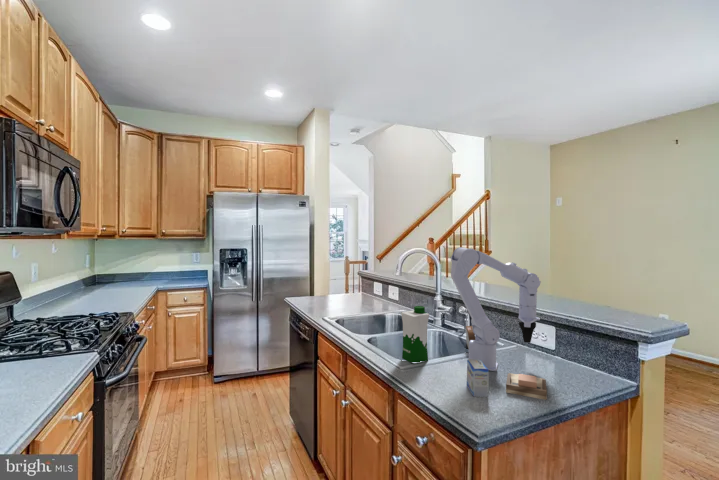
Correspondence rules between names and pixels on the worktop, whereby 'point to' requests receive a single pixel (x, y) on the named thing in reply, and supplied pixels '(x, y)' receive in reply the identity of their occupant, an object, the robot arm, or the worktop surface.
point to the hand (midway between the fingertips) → (527, 342)
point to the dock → (526, 391)
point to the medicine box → (477, 378)
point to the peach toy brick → (527, 381)
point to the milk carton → (415, 334)
